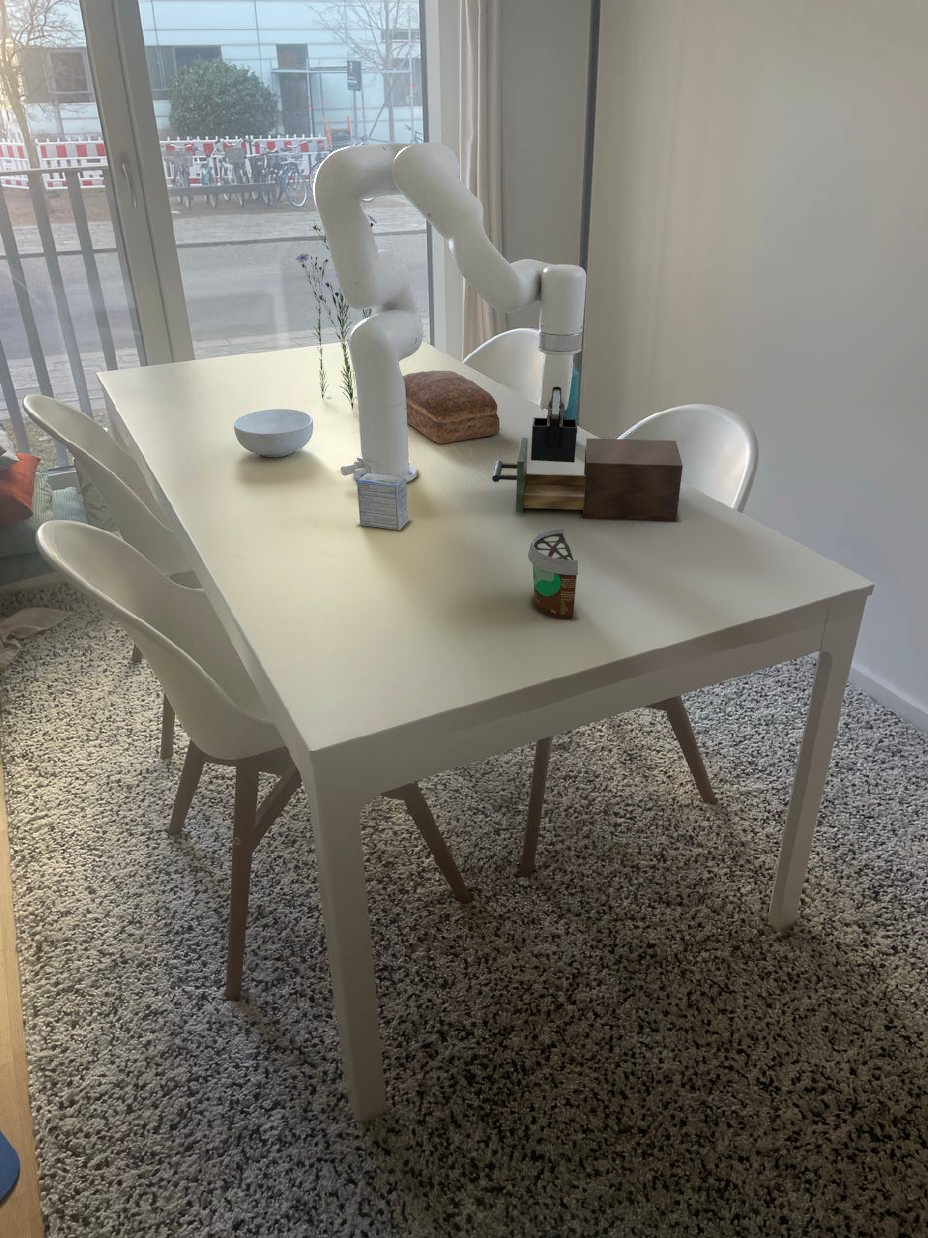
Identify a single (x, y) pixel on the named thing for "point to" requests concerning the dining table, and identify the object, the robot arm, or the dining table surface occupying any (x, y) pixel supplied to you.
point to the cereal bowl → (274, 431)
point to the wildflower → (305, 258)
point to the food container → (553, 574)
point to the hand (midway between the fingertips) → (553, 440)
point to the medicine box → (382, 501)
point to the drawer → (542, 485)
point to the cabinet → (632, 479)
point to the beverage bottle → (572, 397)
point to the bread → (449, 407)
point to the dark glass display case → (553, 454)
